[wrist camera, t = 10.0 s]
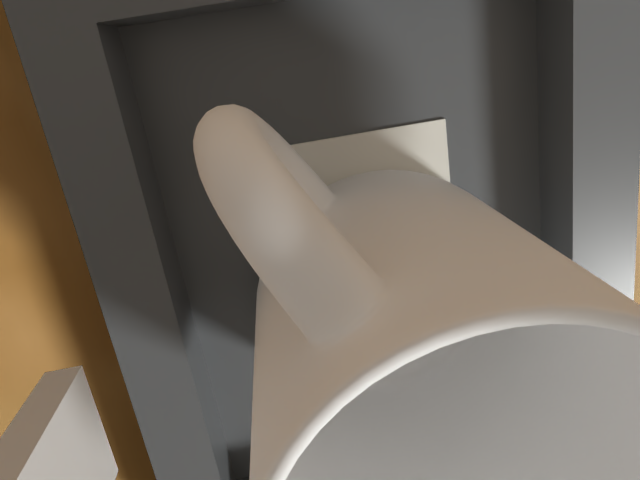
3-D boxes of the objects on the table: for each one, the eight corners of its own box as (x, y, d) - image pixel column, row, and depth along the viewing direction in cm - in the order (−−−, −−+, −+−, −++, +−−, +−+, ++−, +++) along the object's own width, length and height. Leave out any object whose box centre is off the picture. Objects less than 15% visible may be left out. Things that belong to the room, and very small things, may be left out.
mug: (121, 178, 16) (-97, 359, 6) (343, 0, 15) (482, -106, 5) (352, 430, 20) (436, 787, 10) (541, 301, 19) (837, 558, 9)
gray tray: (198, 509, 22) (188, 577, 19) (36, -35, 15) (-17, -57, 12) (579, 434, 22) (625, 489, 19) (584, -120, 16) (654, -159, 13)
